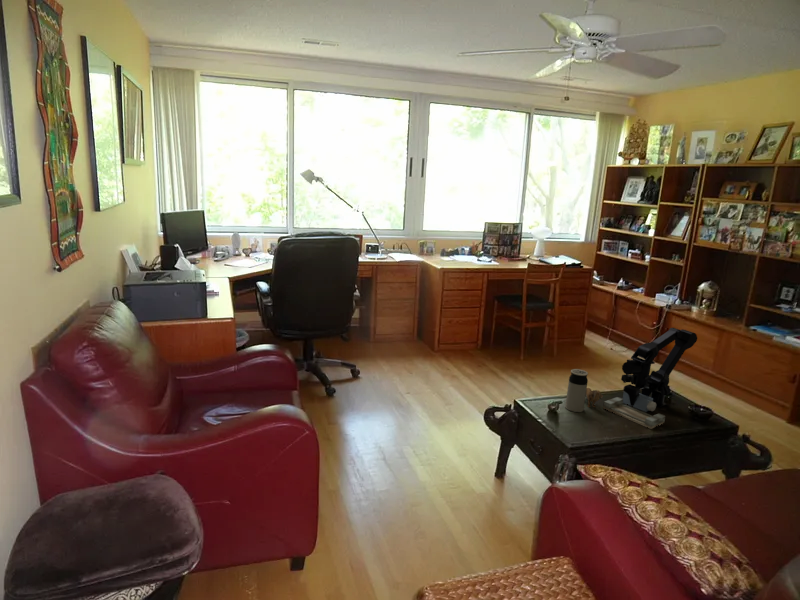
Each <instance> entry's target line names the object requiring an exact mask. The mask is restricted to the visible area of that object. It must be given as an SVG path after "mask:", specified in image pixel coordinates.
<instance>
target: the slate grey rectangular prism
mask: <svg viewBox="0 0 800 600" xmlns="http://www.w3.org/2000/svg"><path fill="white" fill-rule="evenodd" d="M639 394H640V395H639V397H638V399H637V400H636V402H635V404H634V406H633V407H632V406H631V404H630V399H629V395H628V394H627V393H626V392H625V391H623V394H622V399H623V404H625V405H627V404H628V405H627V406H630V407H632V408H634V409H637V410H639V411H642V412H644V413H647V412H654V411H656V408H657V406H656V403H655V402H653V398H651V396H646V395H643V394H642V393H639Z"/></svg>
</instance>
